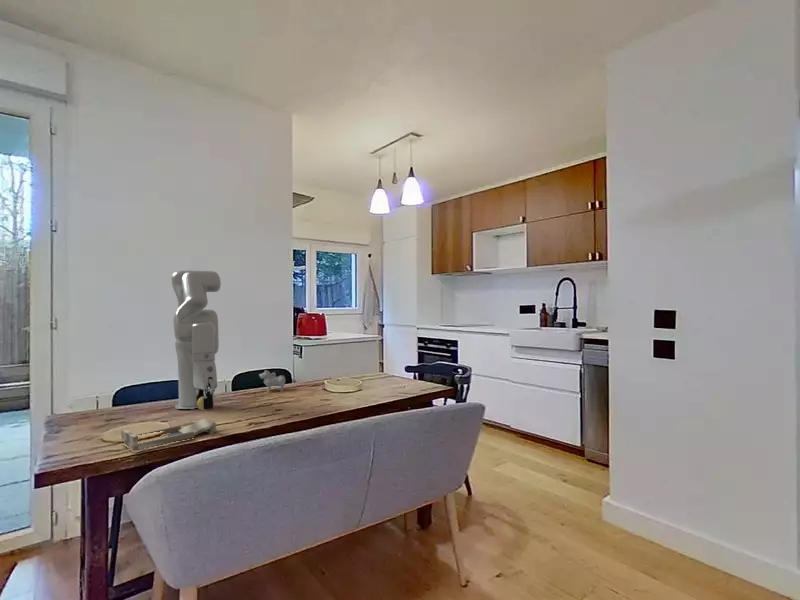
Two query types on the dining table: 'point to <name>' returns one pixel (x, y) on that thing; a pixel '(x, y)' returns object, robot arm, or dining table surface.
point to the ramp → (199, 427)
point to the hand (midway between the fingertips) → (204, 407)
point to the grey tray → (132, 440)
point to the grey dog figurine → (272, 380)
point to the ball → (200, 403)
